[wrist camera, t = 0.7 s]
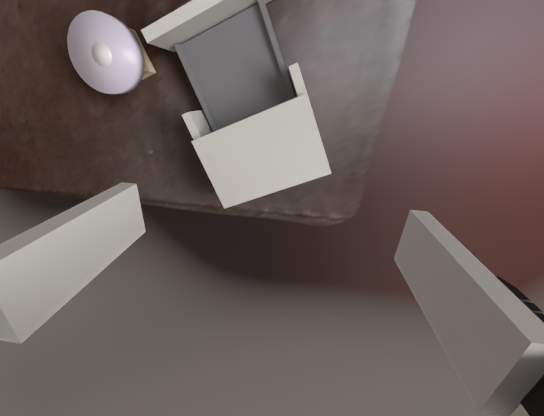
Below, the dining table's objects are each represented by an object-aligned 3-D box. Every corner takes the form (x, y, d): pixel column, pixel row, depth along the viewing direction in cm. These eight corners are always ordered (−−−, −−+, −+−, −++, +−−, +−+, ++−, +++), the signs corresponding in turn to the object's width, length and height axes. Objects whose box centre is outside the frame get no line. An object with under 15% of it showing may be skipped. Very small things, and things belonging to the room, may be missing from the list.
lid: (65, 34, 29) (52, 31, 27) (118, 0, 27) (107, -5, 25) (106, 104, 32) (96, 104, 30) (157, 78, 30) (149, 77, 28)
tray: (167, 36, 31) (137, 23, 25) (270, -22, 27) (262, -51, 22) (211, 133, 35) (194, 140, 29) (305, 94, 32) (306, 94, 26)
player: (201, 112, 34) (178, 115, 28) (298, 68, 31) (297, 61, 24) (237, 189, 38) (224, 208, 32) (326, 159, 35) (331, 173, 28)
